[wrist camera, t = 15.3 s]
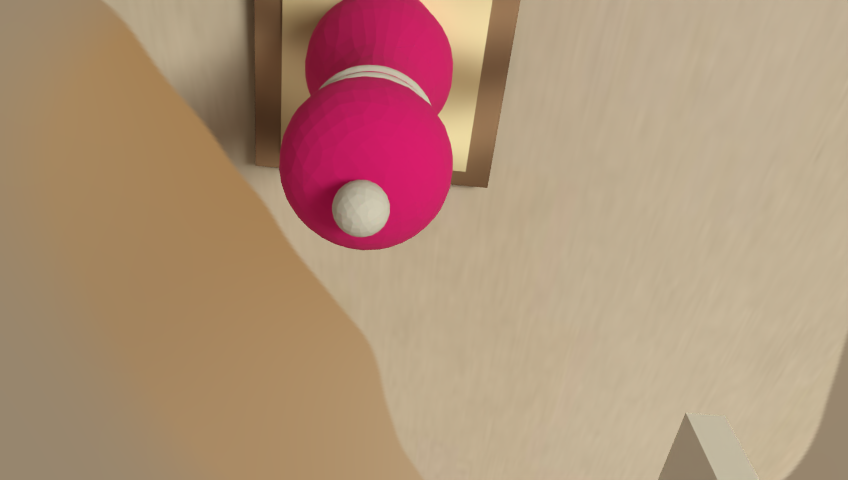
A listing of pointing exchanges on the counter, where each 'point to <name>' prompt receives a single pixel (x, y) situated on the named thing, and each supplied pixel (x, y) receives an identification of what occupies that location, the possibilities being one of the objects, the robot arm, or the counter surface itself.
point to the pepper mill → (371, 125)
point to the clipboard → (468, 98)
